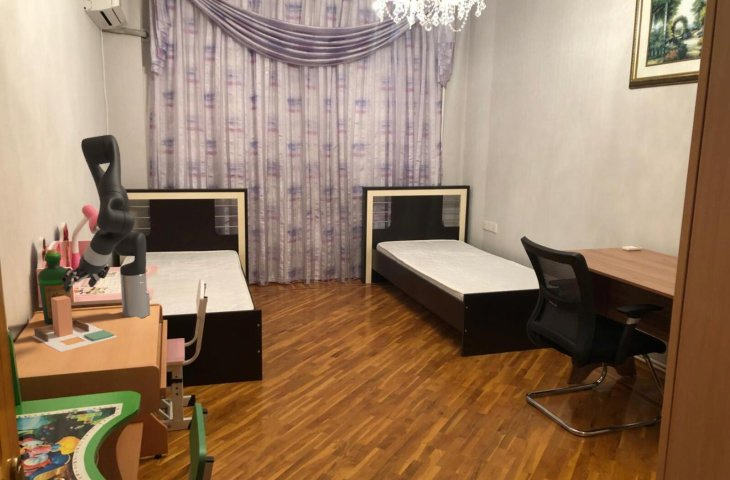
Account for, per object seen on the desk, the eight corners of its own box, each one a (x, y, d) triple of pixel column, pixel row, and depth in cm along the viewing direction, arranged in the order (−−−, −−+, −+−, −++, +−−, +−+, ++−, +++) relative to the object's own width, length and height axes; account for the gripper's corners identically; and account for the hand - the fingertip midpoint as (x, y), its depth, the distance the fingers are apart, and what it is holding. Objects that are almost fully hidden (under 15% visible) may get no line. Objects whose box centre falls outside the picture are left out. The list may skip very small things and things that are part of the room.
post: (67, 331, 201) (64, 295, 199) (73, 333, 198) (70, 297, 196) (53, 334, 197) (51, 298, 195) (59, 337, 195) (56, 300, 192)
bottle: (60, 329, 205) (54, 253, 200) (34, 327, 208) (28, 252, 203) (80, 320, 216) (75, 248, 211) (55, 318, 218) (50, 246, 213)
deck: (87, 325, 210) (86, 322, 210) (117, 339, 197) (117, 336, 197) (31, 339, 196) (31, 336, 195) (60, 355, 182) (60, 351, 182)
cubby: (76, 325, 207) (76, 319, 206) (89, 331, 201) (88, 324, 201) (34, 335, 196) (34, 328, 195) (46, 341, 190) (46, 335, 190)
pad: (103, 331, 201) (103, 329, 201) (113, 336, 197) (113, 334, 197) (83, 336, 196) (83, 334, 196) (93, 341, 192) (93, 339, 192)
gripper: (110, 244, 189) (92, 275, 196) (69, 250, 177) (51, 283, 184) (121, 261, 187) (103, 292, 194) (80, 268, 175) (62, 301, 182)
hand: (78, 287), depth 189 cm, fingers open, 8 cm apart
